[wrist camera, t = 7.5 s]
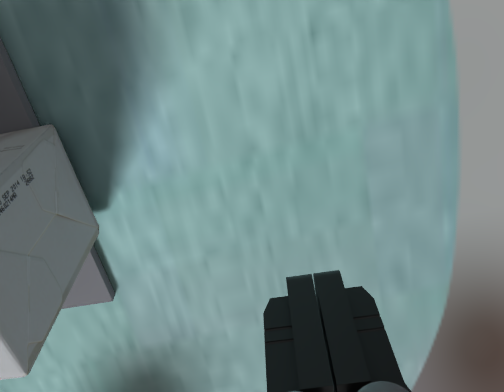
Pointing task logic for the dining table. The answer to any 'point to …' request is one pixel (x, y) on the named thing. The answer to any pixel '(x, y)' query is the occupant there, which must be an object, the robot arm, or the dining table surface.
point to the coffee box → (37, 241)
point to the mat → (22, 117)
